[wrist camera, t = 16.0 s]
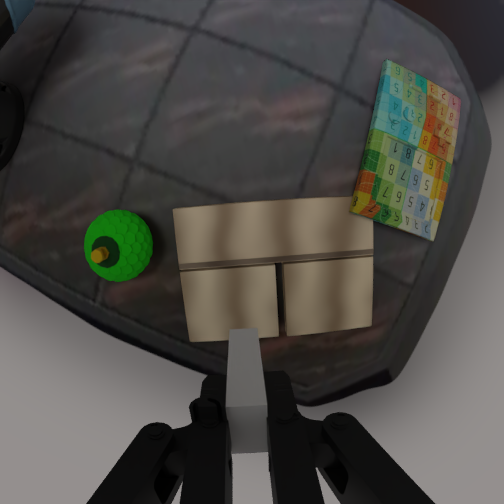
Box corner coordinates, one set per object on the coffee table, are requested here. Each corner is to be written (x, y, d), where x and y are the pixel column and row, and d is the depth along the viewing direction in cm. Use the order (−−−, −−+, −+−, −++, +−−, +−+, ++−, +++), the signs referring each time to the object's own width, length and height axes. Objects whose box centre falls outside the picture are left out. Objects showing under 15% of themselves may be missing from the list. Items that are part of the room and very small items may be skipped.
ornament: (93, 222, 37) (52, 234, 27) (146, 196, 37) (114, 200, 27) (117, 279, 39) (83, 306, 29) (171, 257, 38) (148, 280, 29)
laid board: (183, 264, 39) (179, 270, 36) (177, 207, 37) (172, 209, 35) (366, 250, 39) (373, 254, 36) (364, 195, 37) (372, 196, 35)
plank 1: (192, 334, 40) (190, 341, 38) (183, 267, 39) (179, 272, 36) (277, 328, 40) (278, 336, 38) (273, 260, 39) (274, 265, 36)
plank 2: (284, 329, 40) (287, 336, 38) (281, 260, 39) (283, 264, 36) (365, 319, 40) (371, 325, 38) (366, 253, 39) (373, 256, 37)
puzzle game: (464, 97, 30) (437, 242, 33) (445, 104, 35) (418, 237, 38) (389, 56, 29) (355, 212, 33) (375, 68, 34) (341, 211, 37)
